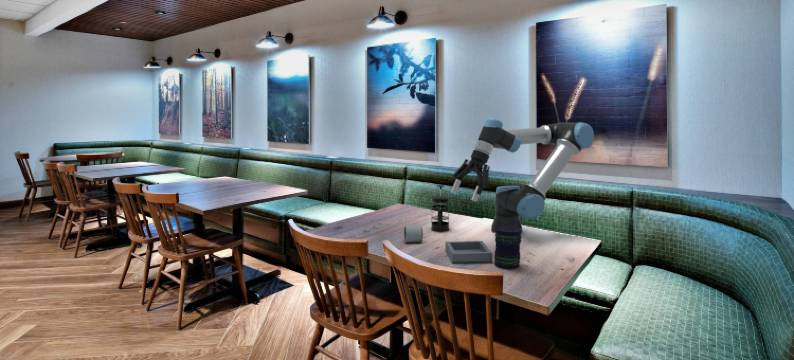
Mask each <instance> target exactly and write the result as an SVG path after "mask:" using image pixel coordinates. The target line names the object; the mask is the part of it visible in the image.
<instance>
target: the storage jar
mask: <svg viewBox="0 0 794 360" xmlns="http://www.w3.org/2000/svg"><path fill="white" fill-rule="evenodd" d="M494 237H495V238H494V241H495V249H494V258H493V260H494V266H495V267H496V268H499V269H501V270H508V271H509V270H510V271H511V270H512V271H513V270H517V269H519V268H520V267H521V265H520V262H521V252H520V251H521V250H520V249H521V244H522V233H521V228H520V227H518V226H513V225H498V226H496V231H495V234H494Z"/></svg>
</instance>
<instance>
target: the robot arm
mask: <svg viewBox="0 0 794 360" xmlns="http://www.w3.org/2000/svg"><path fill="white" fill-rule="evenodd" d="M594 140H595V134H594V129H593V127H592V126H591V124H588V123H586V122H579V121H578V122H567V121H566V122H564V121H563V122H557V123H551V124H543V125H541V126H540V127H532V128H520V129H507V130H506V129H504V128H503V122H502V121H501V120H500V119H496V118H493V117H488V118H486V120H485V122H484V124H483V125H482V129H481V131H480V133H479V136H478V139H477V140H476V143H475V146H474V149H473V150H472V153H471V155H470V160H469V159H466V158H465V159H464V162H462V164H461V165H460V167H459V168H458V169H457V170H456V171H455V172H454V174H453V176H452V177H454V178H455V179H454V182H453V186H452V188H451V190H450V193H451V194H453V195H457V192H458V190H459V188H460V185H461V183H462V179H464V177H466V176H467V175H468V174H470V173H476V177H477V183H478V185H476V187H475V189H474V192H473V194H472V197H471V201H473V202H475V203H477V201H478V199H479V197H480V195H481V194H482V192H483V190H484V189H485V188H489V181H490V180H489V179H490V178H489V176H490V175H489V174H490V169H491V168H490V167H491V166H490V165H488V164H487V163H488V161H489V160H490V159H489V158H490V155H491V154H492V151H493V149H494V148H495V149H501V150H506V151H507V152H509V153H515V152H517V151H518V150H519V149H520V148H521V146H522V145H528V144H529V145H530V144H542V145H555V148H554V149H553V151H552V152H551V153H550V155H549V156H548V158H547V159H546V160H545V162H544V163H543V164H542V166H540V169H539V170H538V171H537V173H535V175H534V176H533V177H532V179H531V180H530V182H529V183H526V184H523V186H522V187H521V186H519V185H502V186H501V185H500V186H497V187H496V190H495V208H494V211H495V212H494V213H495V214H494V218H493V220H492V223H491V226H490V227H491V229H490V230H491V232H492V233H495V231H496V226H498V225H513V226H518V227H520V228H521V234H522V233H523V226H522V223H521V220H520V217H521V218H524V219H529V220H532V219H536V218H538V217H540V216H541V215H542V214H543V213H544V210H545V208H546V207H545V205H546V202H545V200H546V193H547V192H548V191H549V189H550V188H551V186H552V185H553V184H554V182H555V181H556V179H557V178H558V177H559V176H560V174H561V172H562V171H563V170H564V168H565V167H566V165H567V164H568V163H569V162H570V160H572V157H573V156H577V155H579V153H580V152H581V151H582V150H583V149H587V148H590V147H591V146H592V144H593V143H594Z"/></svg>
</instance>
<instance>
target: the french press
mask: <svg viewBox="0 0 794 360" xmlns="http://www.w3.org/2000/svg"><path fill="white" fill-rule="evenodd" d="M436 187H438V188H439V195H433V196H431V198H432V202H433V203H437V204H433V205H431V211H435V212H437V214H436V215H432V216H431V220H434V221H431V227H430V230H431V231H433V232H437V233H444V232H448V231H450V216H447V215H443V212H446V211H447V212H449V211H450V206H449V205H447V204H446V203H449V201H450V200H449V199H450V196H447V195H442V189H443V188H445V187H446V186H445V185H443V184H438V185H436ZM447 220H448V221H447Z"/></svg>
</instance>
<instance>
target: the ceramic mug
mask: <svg viewBox="0 0 794 360" xmlns="http://www.w3.org/2000/svg"><path fill="white" fill-rule="evenodd" d="M423 237H424V230H423V227H422V226H419V225H405V226H404V228H403V240H404V241H403V242H404V243H420V242H422V241H423V239H424V238H423Z"/></svg>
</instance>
